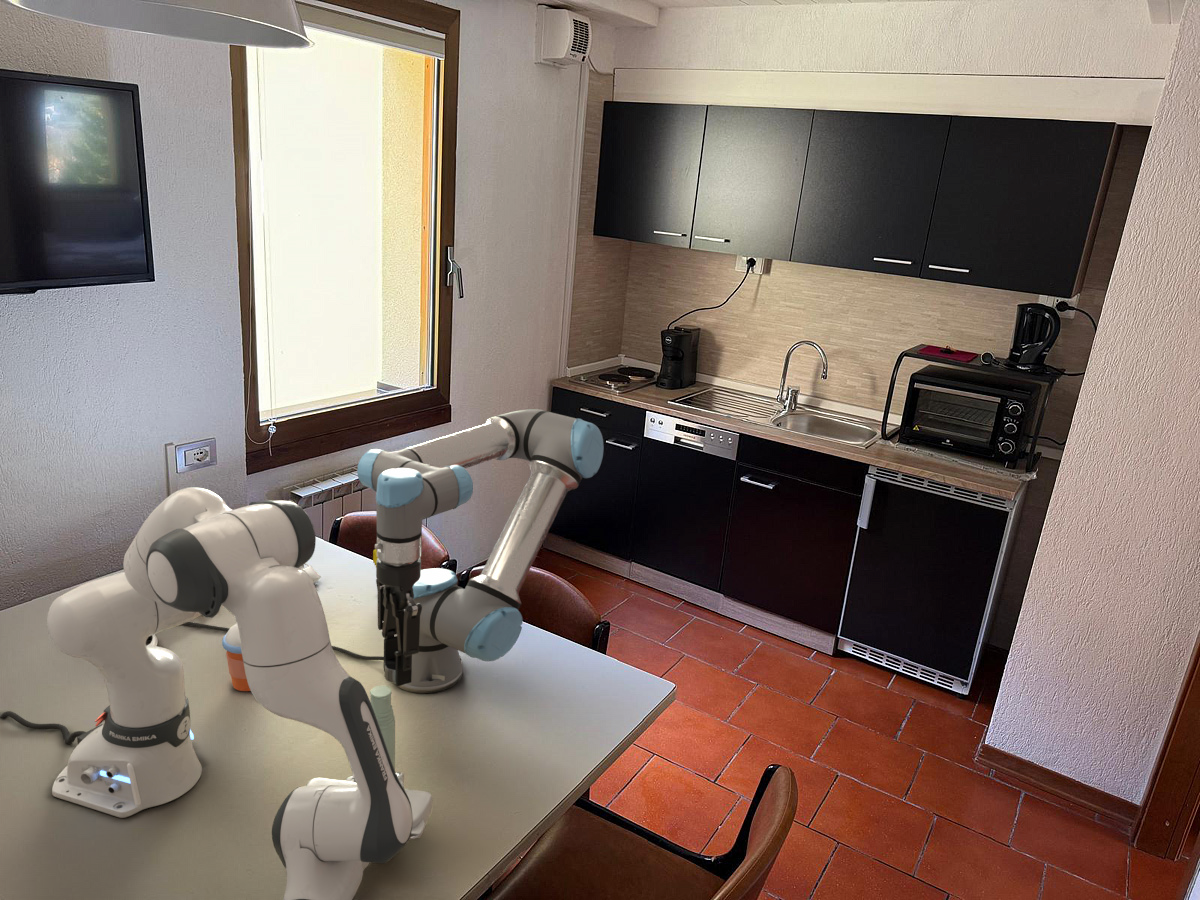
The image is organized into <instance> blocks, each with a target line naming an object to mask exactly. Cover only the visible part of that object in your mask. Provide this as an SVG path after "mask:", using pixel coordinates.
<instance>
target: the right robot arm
mask: <svg viewBox="0 0 1200 900" xmlns="http://www.w3.org/2000/svg"><path fill="white" fill-rule="evenodd" d="M604 449H605V448H604V438H603V434H602V432H601V430H600V429H599V427H598V426H597V425H596V424H594V423H593V422H589V421H586V420H583V419H582V418H575V417H572V416H567V415H563V414H559V413H556V412H552V411H551V412H550V411H547V410H545V409H537V408H536V409H535V408H531V409H521V410H514V411H511V412H506V413H503V414H498V415H495V416H491V417H489V418H487V419H486V420H484V422H483V424H482V425H478V426H474V427H472V428H468V429H464V430H462V431H459V432H455V433H452V434H448V435H446V436H442V437H439V438H435V439H432V440H429V441H426V442H422V443H419V444H416V445H413V446H409V447H405V448H402V449H399V450H395V451H388V450H386V449H378V448H373V449H369V450H367V451H366V452H365V453H364V454H363V455H362V456H361V458H360V459H359V461H358V464H357V469H356V470H357V471H356V473H357V479H358V480H359V482H360V484H361V485H362V486H364V487H366V488H368V489H370V490H373V491H374V492H376V493H375V504H376V505H375V506H376V508H375V510H376V511H375V513H376V515H375V516H376V543H375V544H374V550H375V549H377V557H378V559H377V561H376V565H375V575H376V579H375V584H376V590H377V629H378V631H381V636H382V638H384V639H383V655H379V656H378V655H375V656H373V655H371V656H368V655H362V654H358V653H355V652H352V651H349V650H347V649H345V648H341V647H338V646H335V645H331V646H332V649H333V651H336V652H338V653H342V654H344V655H347V656H350V657H352V658H354V659H358V660H364V661H383V668H384V667H385V662H386V661H387V660H389V659H391V658H396V683H393V684H394V685H395V686H396V687H398V688H399V689H401V690H404V691H407V692H410V693H416V694H430V693H431V694H432V693H438V692H441V691H445V690H447V689H450V688H451V687H453V686H455V685H456V684H457V683H458V682H459V681H460V680H461V679H462V676H463V672H464V664H463V660H462V657H461V656H460V653H459V652H461V653H463V654H465V655H466V656H467V657H470V658H472V659H478V660H480V661H483V662H494V661H497V660H499V659H501V658H503V657H504V656H505V655H507V654H508V653H509V652H510V651H511V650H512V648H513V647H514V646H515V644H516V643H517V641H518V640H519V637H520V635H521V633H522V628H523V627H522V625H523V623H524V622H523V615H522V612H520V611H519V610H520V607H521V606H522V602H521V601H522V600H521V598H520V595H519V593H520V591H521V589H522V586H523V585H524V582H525V580H526V579H527V577H528V574H529V572H530V570H531V568H532V566H533V564H534V562H535V560H536V558H537V556H538V553H539V552H540V550H541V548H542V545H543V544H544V541H545V539H546V538H547V535H548V533H549V531H550V529H551V527H552V525H553V523H554V521H555V518H556V517H557V514H558V513H559V510H560V508H561V506H562V504H563V502H564V500H565V497H566V496H567V494H568V492H570V491H572V490H575V489H577V488H578V487H579V485H580V484H581V481H582V479H590V478H592V477H593V476H595V475H596V474H597V473H598V472H599V469H600V467H601V464H602V462H603V458H604ZM508 459H518V460H523V461H528V467H529V470H530V476H529V477H528V479H527V481H526V484H525V486H524V487H523V490H522V492H521V493H520V496H519V498H518V499H517V501H516V503H515V506H514V508H513V509H512V511H511V513H510V515H509V517H508V519H507V521H506V522H505V524H504V527H503V529H502V530H501V533H500V535H499V537H498V540H497V541H496V543H495V545H494V547H493V548H492V551H491V553H490V555H489V557H488V559H487V561H486V563H485V565H484V567H483V569H482V571H481V573H480V574H479V575H477V576H474V577H471V578H469V580H468V582H467V583H466V586H465V588H463V587H462V586H458V582H459V581H458V580H459V579H458V577H457V574H456V572H454V571H453V570H450V569H447V568H440V567H436V568H435V567H434V568H424V569H422V559H421V557H422V548H423V547H422V545H423V543H422V542H423V541H422V540H423V533H422V531H423V521H424V520H426V519H429V518H432V517H435V516H437V515H440V514H442V513H445V512H449V511H451V510H455V509H457V508H459V507H460V506H462V505H463V504H466V503H468V502H469V501H470V499H471V498H472V496H473V493H474V482H473V478H472V476H471V474H470V473H469V471H468V470H467V469H468V468H471V467H475V466H477V465H480V464H483V463H486V462H489V461H491V460H496V461H505V460H506V461H507V460H508ZM182 625H185V626H190V627H197V628H201V629H202V628H204V629H207V630H213V631H220V632H226V633H227V632H228V630H229V629H230V628H231V627H223V626H217V625H211V624H205V623H199V622H194V623H193V621H189V622H186V623H183V624H182Z"/></svg>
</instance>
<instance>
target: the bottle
mask: <svg viewBox="0 0 1200 900" xmlns="http://www.w3.org/2000/svg"><path fill="white" fill-rule="evenodd" d="M392 691H393V690H392V689H391V687H389V686H388V685H384V684H383V685H382V684H381V685H376V686H373V687H372V688H371V689H370V692H369V696H370V702H371V705H372V708H373V710H374V713H375V716H376V718H377V721H378V724H379V727H380V730H381V733H382V735H383V738H384V741H385V744H386V747H387V750H388V753H389V756H390V758H391V761H392V764H393V767H394V770H395V771H396V715H395V712H394V708H393V705H392V694H393V692H392Z"/></svg>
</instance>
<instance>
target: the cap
mask: <svg viewBox="0 0 1200 900" xmlns="http://www.w3.org/2000/svg"><path fill="white" fill-rule="evenodd" d="M383 672H384V675H383V676H384V677H383V678H384V679H385V680H386V681H387V682H389V683H393V684H394V683H396V658H391V659H389V660H387V661H386V662H385V667H384V666H383Z"/></svg>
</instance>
